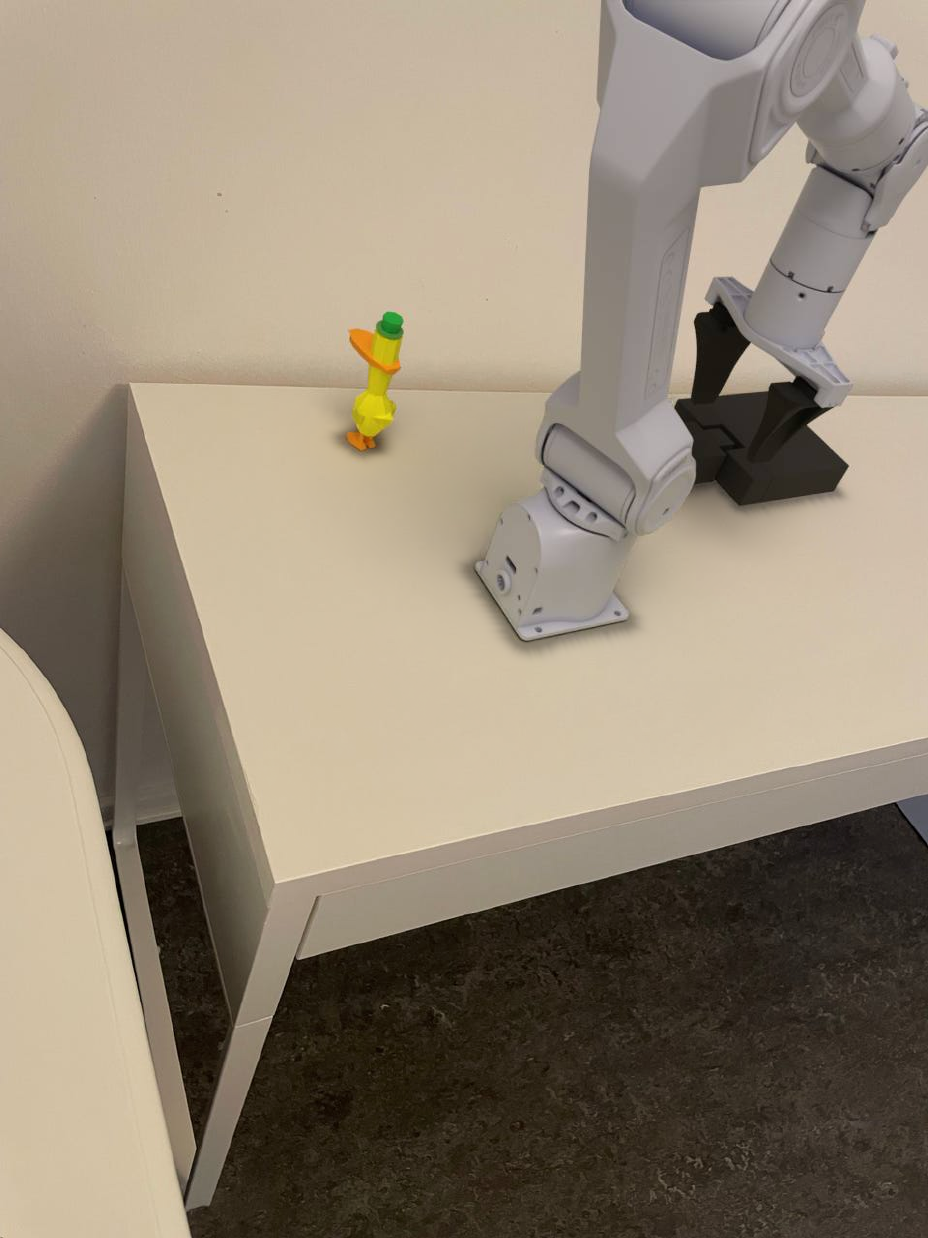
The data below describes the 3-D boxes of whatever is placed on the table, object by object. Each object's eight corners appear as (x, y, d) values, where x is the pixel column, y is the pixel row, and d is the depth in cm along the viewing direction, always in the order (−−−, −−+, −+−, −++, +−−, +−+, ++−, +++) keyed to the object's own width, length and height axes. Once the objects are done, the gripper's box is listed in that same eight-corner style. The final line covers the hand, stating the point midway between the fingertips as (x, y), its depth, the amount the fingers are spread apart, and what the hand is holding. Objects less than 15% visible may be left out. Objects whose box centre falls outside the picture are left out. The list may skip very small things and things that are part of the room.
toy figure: (318, 422, 86) (341, 290, 77) (353, 413, 88) (378, 284, 79) (367, 469, 83) (395, 338, 74) (401, 458, 85) (432, 329, 76)
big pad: (739, 505, 92) (753, 479, 90) (665, 424, 98) (677, 398, 96) (834, 490, 97) (849, 465, 95) (758, 415, 104) (771, 390, 102)
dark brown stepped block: (670, 487, 91) (683, 460, 89) (640, 452, 94) (652, 425, 92) (730, 478, 94) (743, 452, 92) (699, 445, 97) (711, 419, 95)
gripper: (916, 325, 70) (822, 482, 80) (786, 222, 78) (714, 374, 88) (845, 329, 67) (755, 492, 76) (716, 221, 75) (649, 379, 84)
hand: (728, 430), depth 82 cm, fingers open, 7 cm apart
